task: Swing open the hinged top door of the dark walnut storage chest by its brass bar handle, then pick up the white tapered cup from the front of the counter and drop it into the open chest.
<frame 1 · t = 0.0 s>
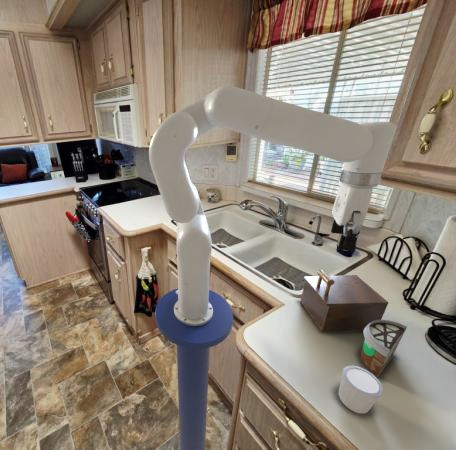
hand: (341, 241, 66), 28 cm above the worktop, tool pointing down, fingers open, 9 cm apart
chest: (335, 315, 78), on the worktop
white tapered cup: (353, 400, 56), on the worktop
chest lid: (344, 282, 73), point 13 cm above the worktop, hinge at 0.0°
food container: (370, 357, 65), on the worktop
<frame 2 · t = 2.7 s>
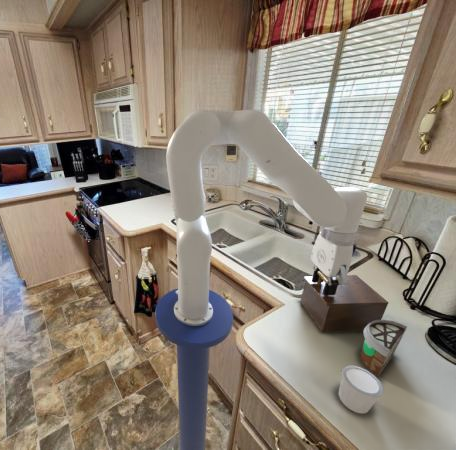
hand: (322, 287, 74), 11 cm above the worktop, tool pointing down, fingers closed on chest lid, 5 cm apart
chest lid: (344, 282, 73), point 13 cm above the worktop, hinge at 0.0°, touching gripper
everything else where it was.
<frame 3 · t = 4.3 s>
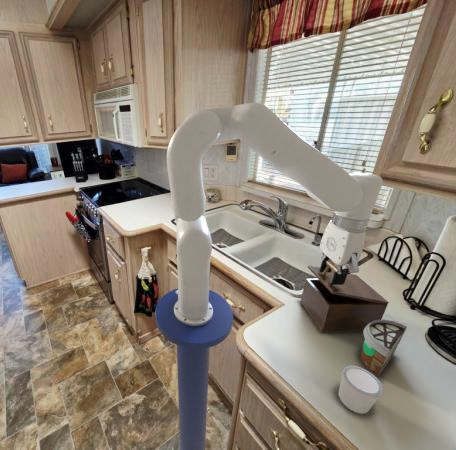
hand: (331, 277, 72), 15 cm above the worktop, tool pointing down, fingers closed on chest lid, 5 cm apart
chest lid: (349, 276, 72), point 15 cm above the worktop, hinge at 15.3°, touching gripper
everything else where it was.
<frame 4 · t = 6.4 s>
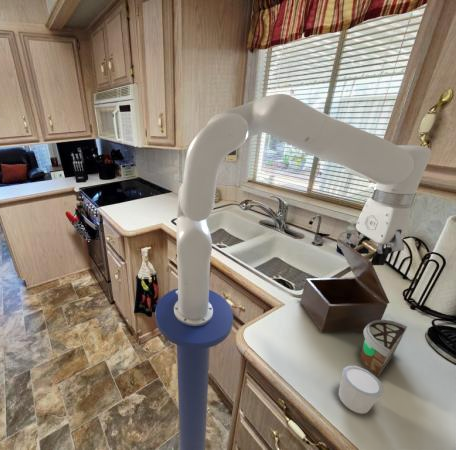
hand: (369, 258, 69), 21 cm above the worktop, tool pointing down, fingers closed on chest lid, 5 cm apart
chest lid: (371, 265, 70), point 19 cm above the worktop, hinge at 57.0°, touching gripper
everything else where it was.
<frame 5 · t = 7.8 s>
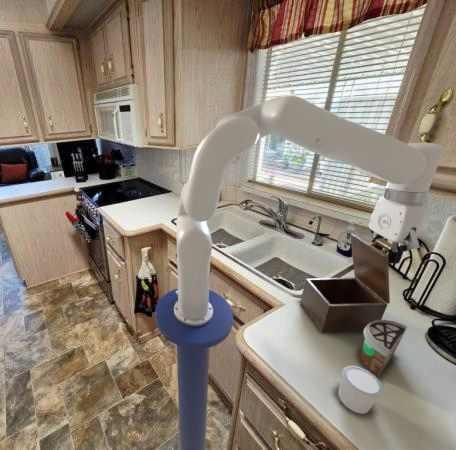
hand: (383, 256, 69), 21 cm above the worktop, tool pointing down, fingers closed on chest lid, 5 cm apart
chest lid: (379, 264, 70), point 19 cm above the worktop, hinge at 70.9°, touching gripper
everything else where it was.
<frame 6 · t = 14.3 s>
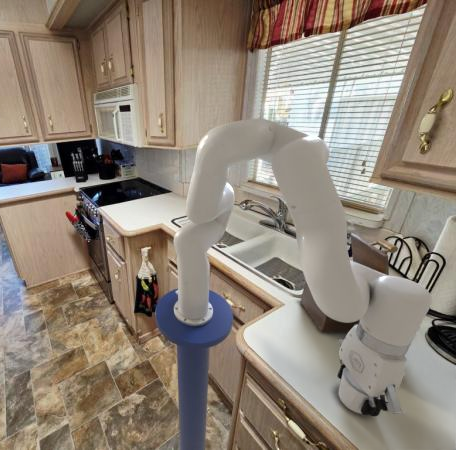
hand: (356, 393, 55), 2 cm above the worktop, tool pointing down, fingers closed on white tapered cup, 6 cm apart
white tapered cup: (353, 400, 56), on the worktop, touching gripper
chest lid: (379, 264, 70), point 19 cm above the worktop, hinge at 71.0°
everything else where it was.
when the fingers open (9 cm above the worktop, at t = 22.1 s): white tapered cup drops 6 cm, resting on chest.
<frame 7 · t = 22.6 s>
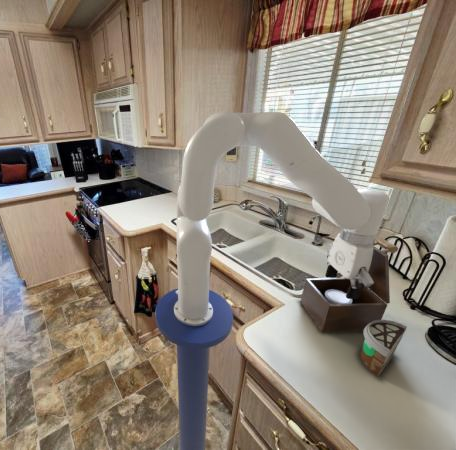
hand: (340, 286, 74), 11 cm above the worktop, tool pointing down, fingers open, 9 cm apart
white tapered cup: (332, 314, 78), point 1 cm above the worktop, touching chest
everything else where it was.
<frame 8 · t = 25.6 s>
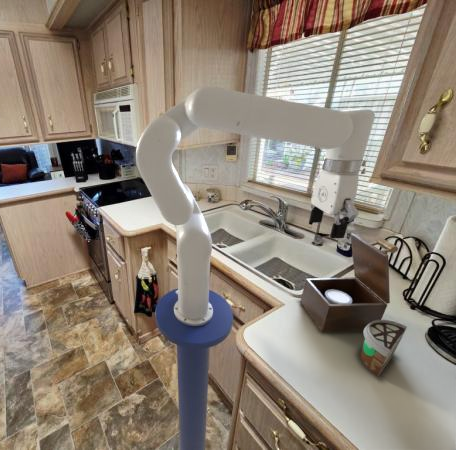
hand: (325, 229, 67), 30 cm above the worktop, tool pointing down, fingers open, 9 cm apart
nothing on the worktop moved.
at the end: chest lid at +71° (first picture: +0°); white tapered cup inside the target area in the chest (1.0 cm from its centre), point 0.6 cm above the chest's base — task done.
